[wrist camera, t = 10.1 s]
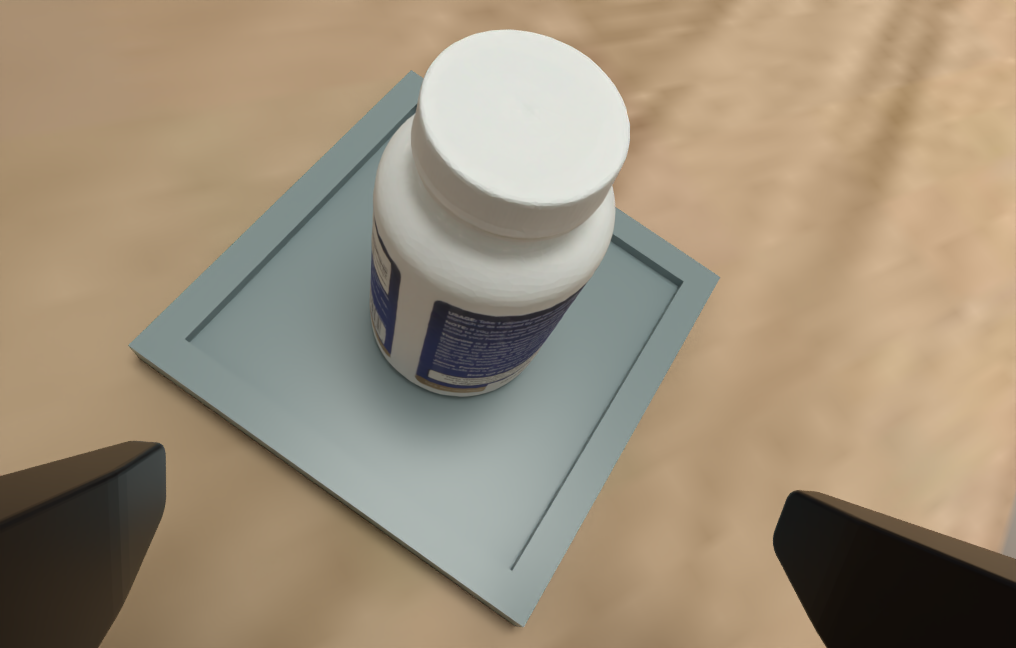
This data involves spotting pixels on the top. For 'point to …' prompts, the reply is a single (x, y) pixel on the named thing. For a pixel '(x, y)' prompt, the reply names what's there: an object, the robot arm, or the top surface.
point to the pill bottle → (492, 208)
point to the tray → (410, 408)
